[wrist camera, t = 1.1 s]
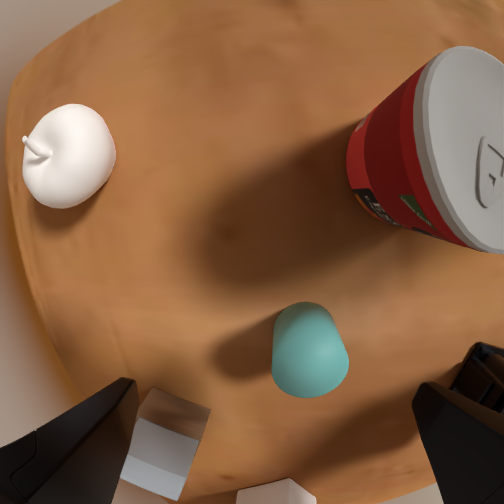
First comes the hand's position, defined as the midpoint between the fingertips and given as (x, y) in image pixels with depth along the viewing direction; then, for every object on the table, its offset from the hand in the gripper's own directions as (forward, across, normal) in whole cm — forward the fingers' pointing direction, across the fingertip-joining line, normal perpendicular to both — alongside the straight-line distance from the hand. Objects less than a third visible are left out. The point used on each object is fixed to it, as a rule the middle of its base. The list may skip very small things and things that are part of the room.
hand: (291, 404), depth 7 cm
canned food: (+12, -8, -8) cm, 17 cm away
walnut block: (+12, +6, +15) cm, 21 cm away
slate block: (+8, +7, +15) cm, 18 cm away
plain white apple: (+14, +13, -7) cm, 21 cm away
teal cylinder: (+12, -3, +4) cm, 13 cm away
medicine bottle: (+10, -5, +28) cm, 30 cm away
